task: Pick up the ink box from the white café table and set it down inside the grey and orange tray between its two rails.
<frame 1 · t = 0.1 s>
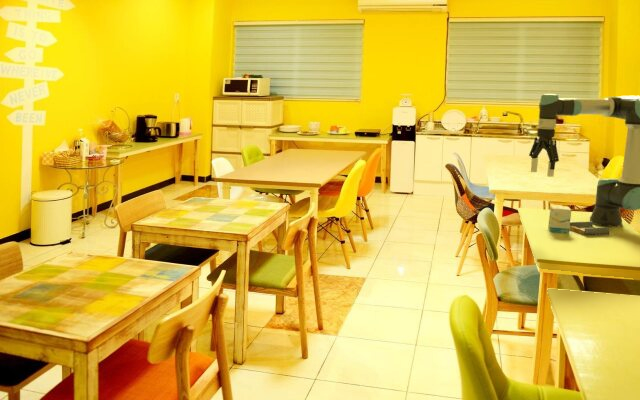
hand: (541, 174, 290), 28 cm above the table, fingers open, 13 cm apart
grey and orange tray: (588, 231, 300), on the table
ink box: (558, 231, 300), on the table
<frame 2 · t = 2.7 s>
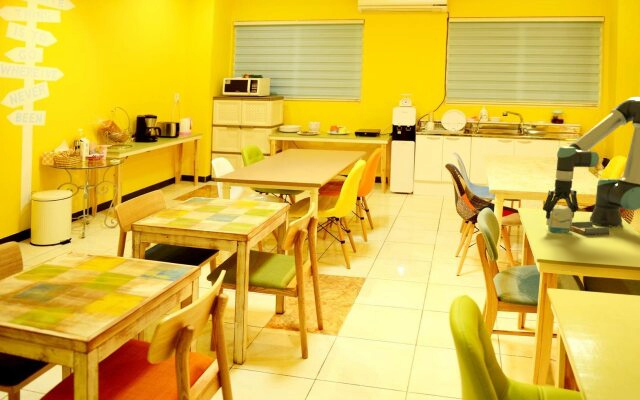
hand: (559, 225, 299), 3 cm above the table, fingers closed on ink box, 11 cm apart
ink box: (558, 231, 300), on the table, touching gripper
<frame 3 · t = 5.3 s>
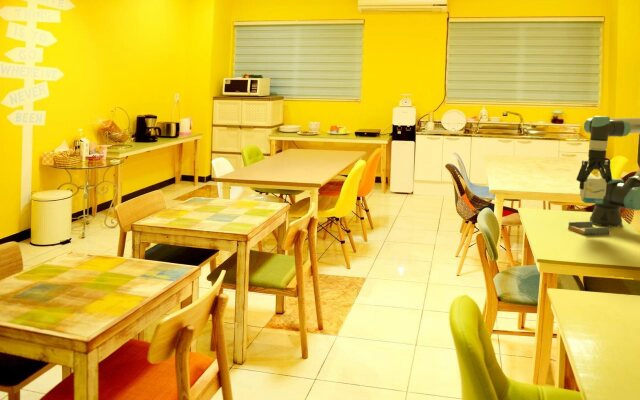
hand: (592, 195, 297), 18 cm above the table, fingers closed on ink box, 10 cm apart
ink box: (591, 202, 297), point 14 cm above the table, touching gripper
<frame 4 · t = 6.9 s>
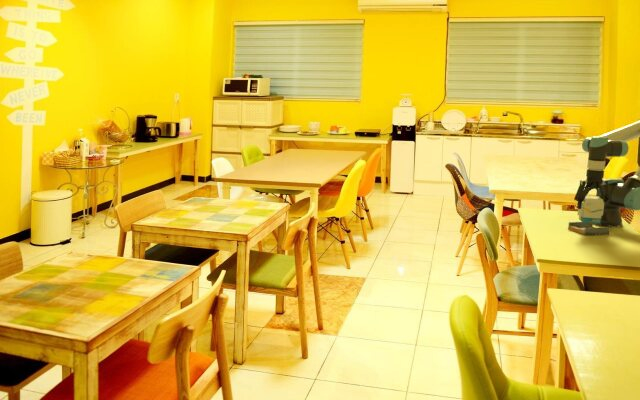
hand: (590, 215, 298), 8 cm above the table, fingers closed on ink box, 10 cm apart
ink box: (589, 221, 299), point 5 cm above the table, touching gripper
when the fingers open (6 cm above the table, at t = 8.1 s): ink box drops 1 cm, resting on grey and orange tray.
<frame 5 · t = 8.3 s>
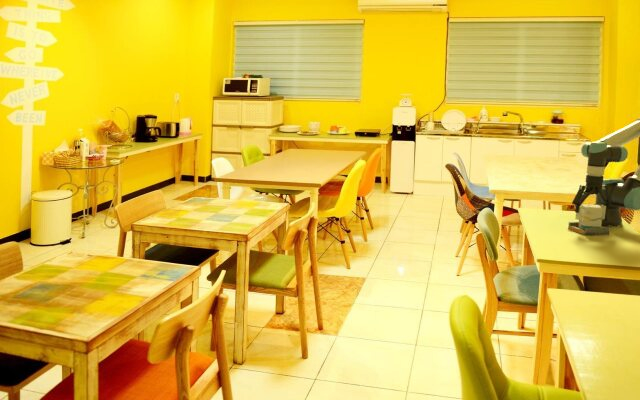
hand: (589, 219, 299), 6 cm above the table, fingers open, 13 cm apart
ink box: (589, 229, 300), point 1 cm above the table, touching grey and orange tray
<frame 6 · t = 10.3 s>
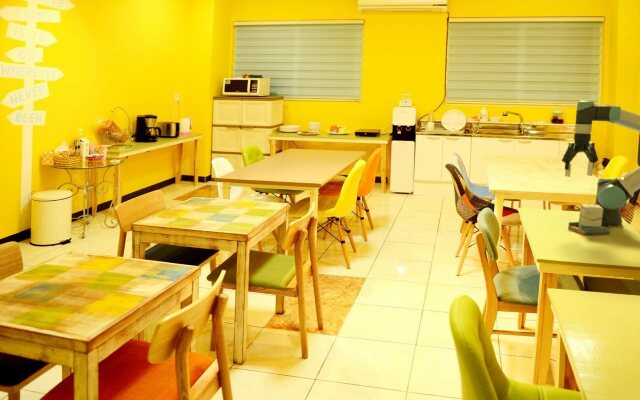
hand: (578, 176, 309), 25 cm above the table, fingers open, 13 cm apart
nothing on the table moved.
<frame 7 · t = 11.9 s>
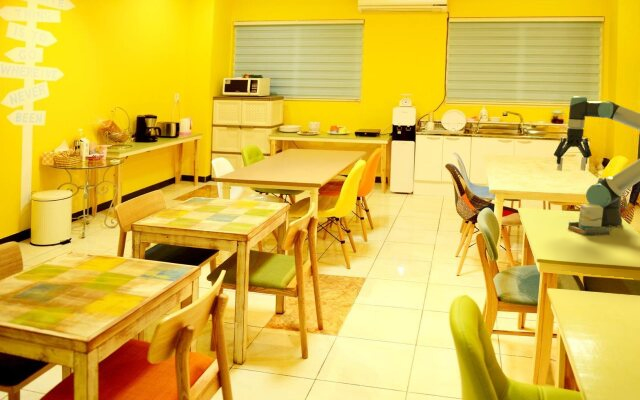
hand: (571, 170, 315), 27 cm above the table, fingers open, 13 cm apart
nothing on the table moved.
at the end: ink box 0.2 cm off-centre on the grey and orange tray, point 1.0 cm above the grey and orange tray's base; ink box tilted 0°; the gripper is holding nothing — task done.
